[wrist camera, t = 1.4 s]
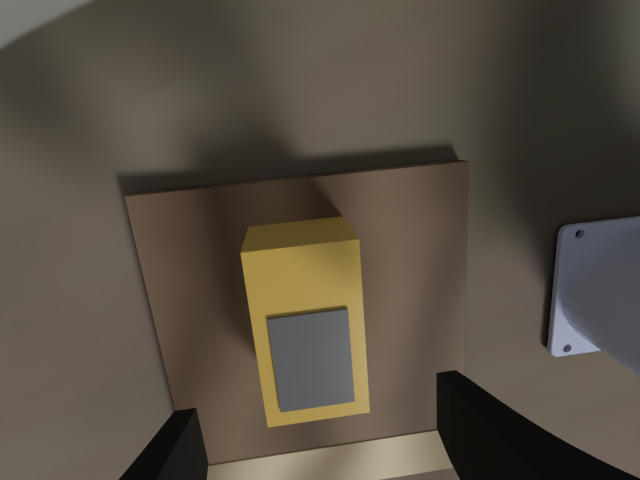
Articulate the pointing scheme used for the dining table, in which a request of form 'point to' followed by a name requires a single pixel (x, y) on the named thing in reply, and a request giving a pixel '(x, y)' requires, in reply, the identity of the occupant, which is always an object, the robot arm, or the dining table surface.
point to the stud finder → (307, 319)
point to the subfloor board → (378, 303)
